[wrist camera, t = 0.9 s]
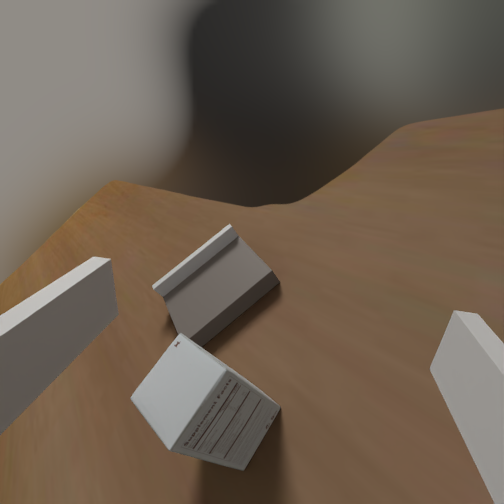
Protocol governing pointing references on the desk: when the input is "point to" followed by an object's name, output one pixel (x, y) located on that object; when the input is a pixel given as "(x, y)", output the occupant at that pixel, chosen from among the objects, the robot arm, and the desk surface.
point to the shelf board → (214, 286)
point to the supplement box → (204, 406)
